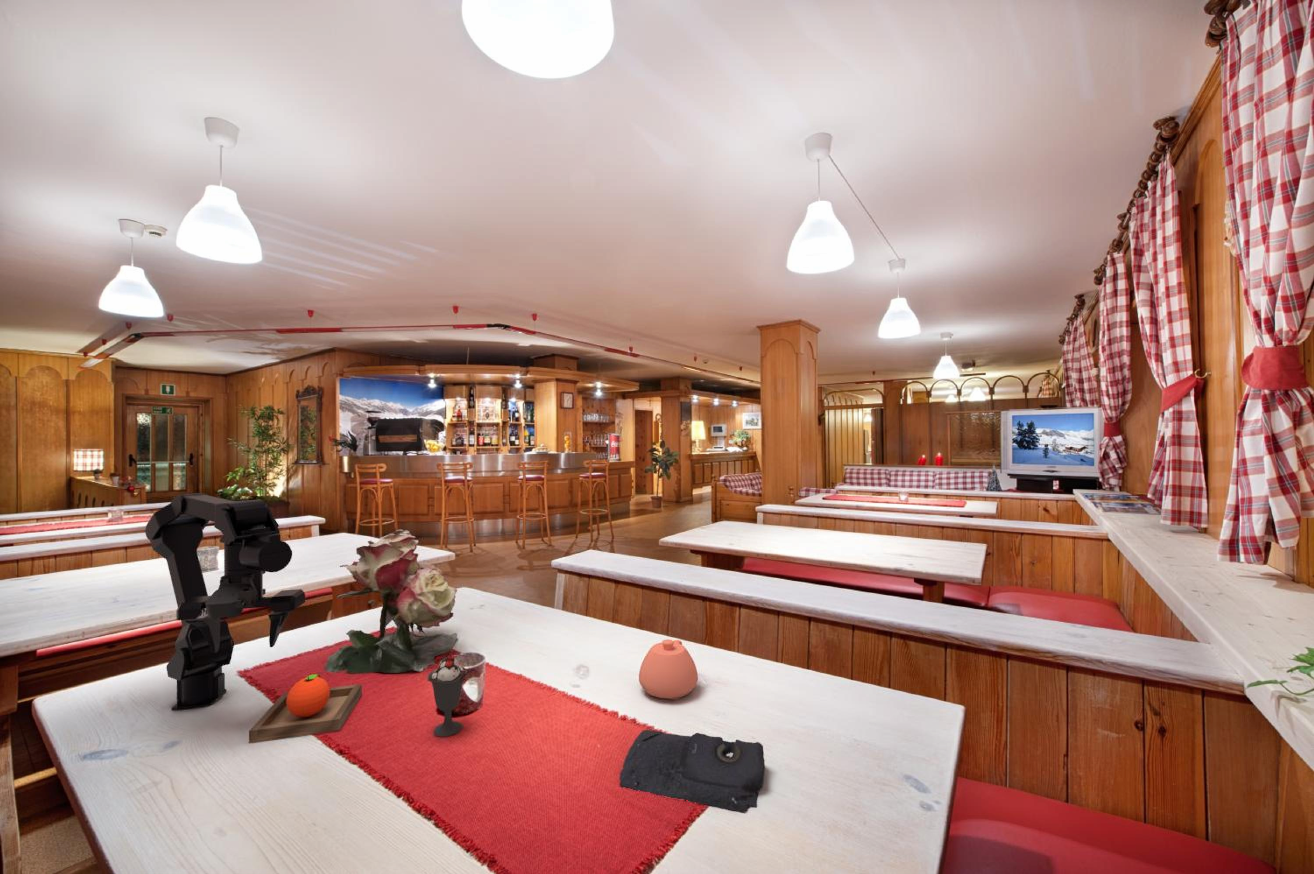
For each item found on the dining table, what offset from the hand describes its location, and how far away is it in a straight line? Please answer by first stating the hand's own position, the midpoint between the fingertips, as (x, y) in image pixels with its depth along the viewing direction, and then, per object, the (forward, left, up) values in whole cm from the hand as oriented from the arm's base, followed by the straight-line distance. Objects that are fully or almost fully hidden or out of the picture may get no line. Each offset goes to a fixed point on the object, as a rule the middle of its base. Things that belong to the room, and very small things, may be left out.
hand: (244, 649), depth 99 cm
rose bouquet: (+23, +26, -13) cm, 37 cm away
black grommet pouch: (+77, -38, -14) cm, 87 cm away
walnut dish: (+12, -3, -13) cm, 18 cm away
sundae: (+38, -15, -13) cm, 43 cm away
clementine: (+12, -3, -13) cm, 18 cm away
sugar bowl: (+81, -11, -13) cm, 83 cm away
